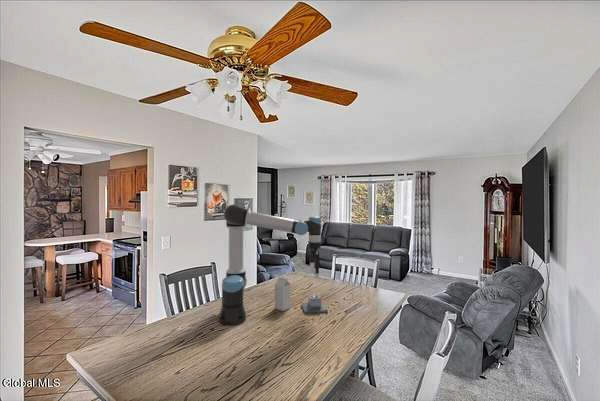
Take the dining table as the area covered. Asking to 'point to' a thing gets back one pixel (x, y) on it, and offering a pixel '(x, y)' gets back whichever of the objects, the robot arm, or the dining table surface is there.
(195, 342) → the dining table surface
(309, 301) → the grey square sleeve
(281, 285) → the milk carton
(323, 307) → the shaft stand
